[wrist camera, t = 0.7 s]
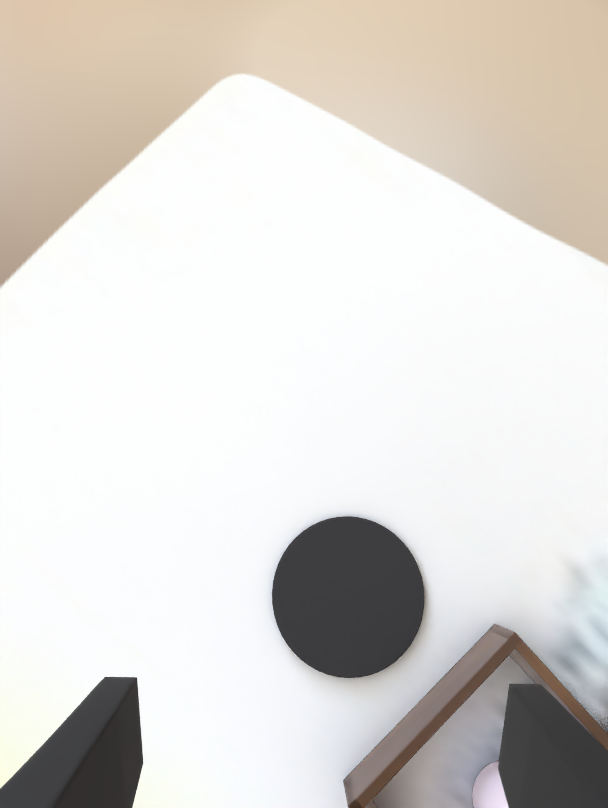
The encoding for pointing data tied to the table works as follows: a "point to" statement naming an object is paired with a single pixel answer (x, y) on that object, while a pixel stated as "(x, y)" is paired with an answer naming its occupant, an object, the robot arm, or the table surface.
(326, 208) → the table surface
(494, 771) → the smoothie
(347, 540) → the coaster
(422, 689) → the table surface
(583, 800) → the robot arm
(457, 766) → the table surface
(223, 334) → the table surface
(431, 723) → the box
